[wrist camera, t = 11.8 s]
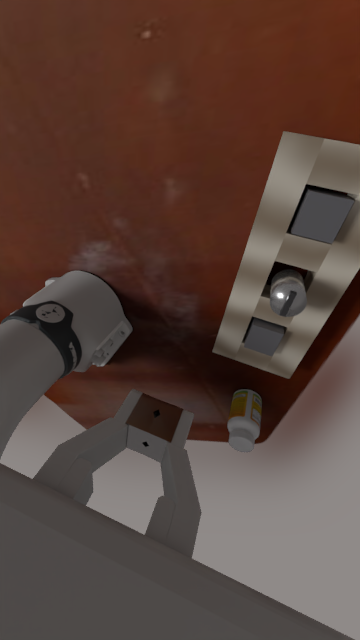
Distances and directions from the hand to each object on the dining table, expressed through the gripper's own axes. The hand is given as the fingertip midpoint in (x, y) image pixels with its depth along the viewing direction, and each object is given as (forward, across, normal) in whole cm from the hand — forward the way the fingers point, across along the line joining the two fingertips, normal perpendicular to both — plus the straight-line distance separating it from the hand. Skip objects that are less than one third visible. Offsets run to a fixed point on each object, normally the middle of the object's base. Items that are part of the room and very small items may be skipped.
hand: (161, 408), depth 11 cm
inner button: (+27, -8, +10) cm, 30 cm away
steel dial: (+24, -7, +2) cm, 25 cm away
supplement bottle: (+28, -11, +28) cm, 40 cm away
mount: (+27, -7, +2) cm, 28 cm away
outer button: (+27, -7, -6) cm, 28 cm away
